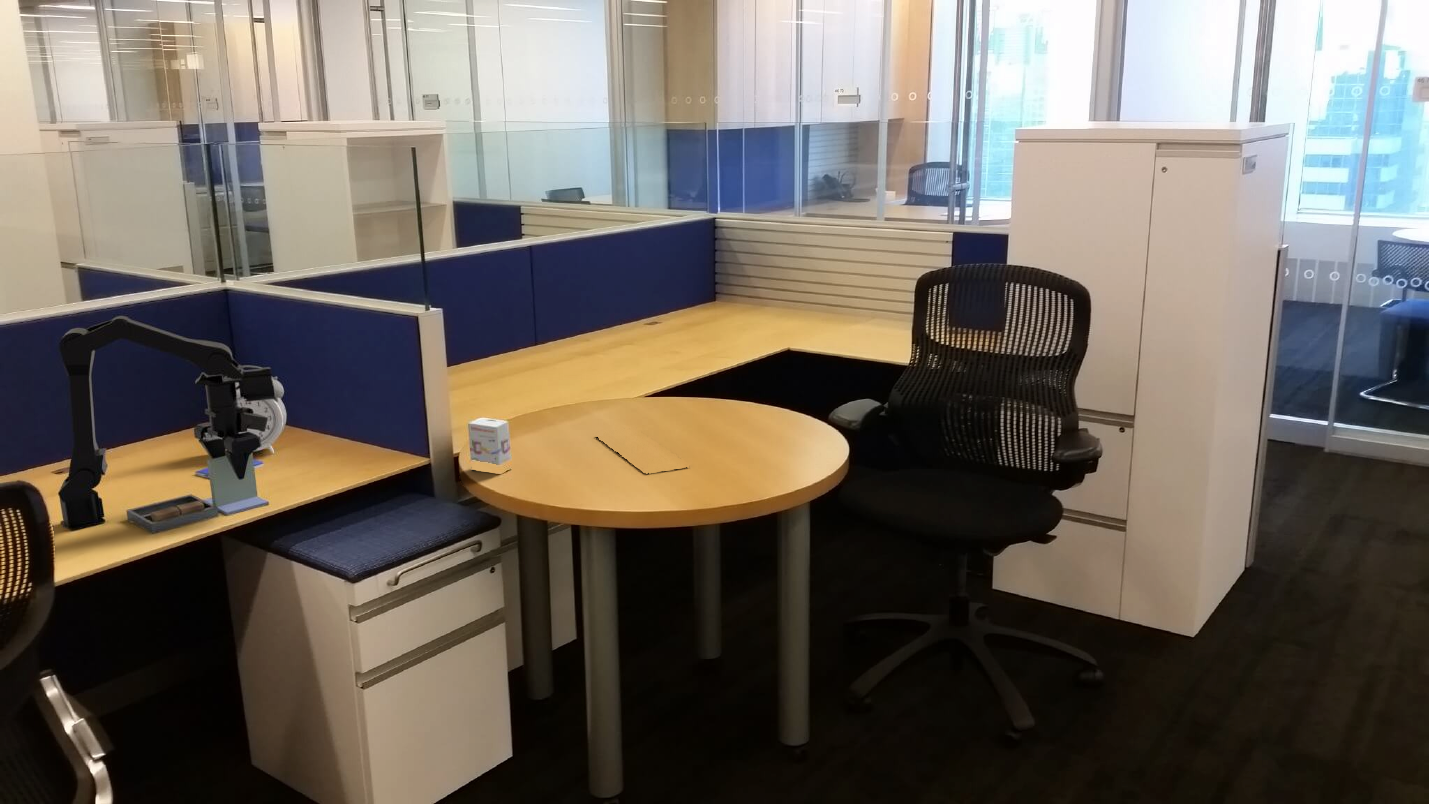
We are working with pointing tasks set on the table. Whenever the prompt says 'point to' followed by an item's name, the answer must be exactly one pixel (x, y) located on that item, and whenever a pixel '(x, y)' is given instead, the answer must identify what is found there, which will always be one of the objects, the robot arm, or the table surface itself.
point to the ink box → (489, 440)
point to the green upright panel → (230, 481)
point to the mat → (240, 505)
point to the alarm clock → (267, 414)
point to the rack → (144, 519)
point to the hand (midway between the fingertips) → (231, 475)
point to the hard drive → (206, 473)
